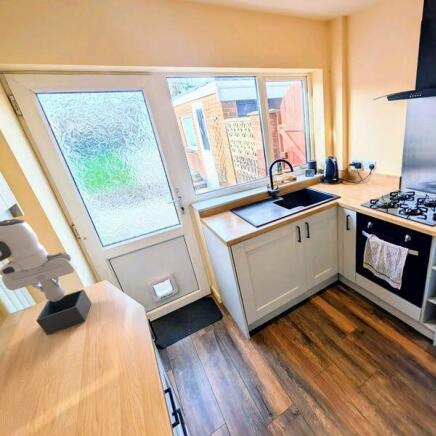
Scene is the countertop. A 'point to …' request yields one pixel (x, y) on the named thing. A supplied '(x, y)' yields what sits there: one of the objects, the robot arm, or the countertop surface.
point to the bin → (64, 312)
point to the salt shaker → (51, 289)
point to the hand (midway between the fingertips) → (51, 288)
